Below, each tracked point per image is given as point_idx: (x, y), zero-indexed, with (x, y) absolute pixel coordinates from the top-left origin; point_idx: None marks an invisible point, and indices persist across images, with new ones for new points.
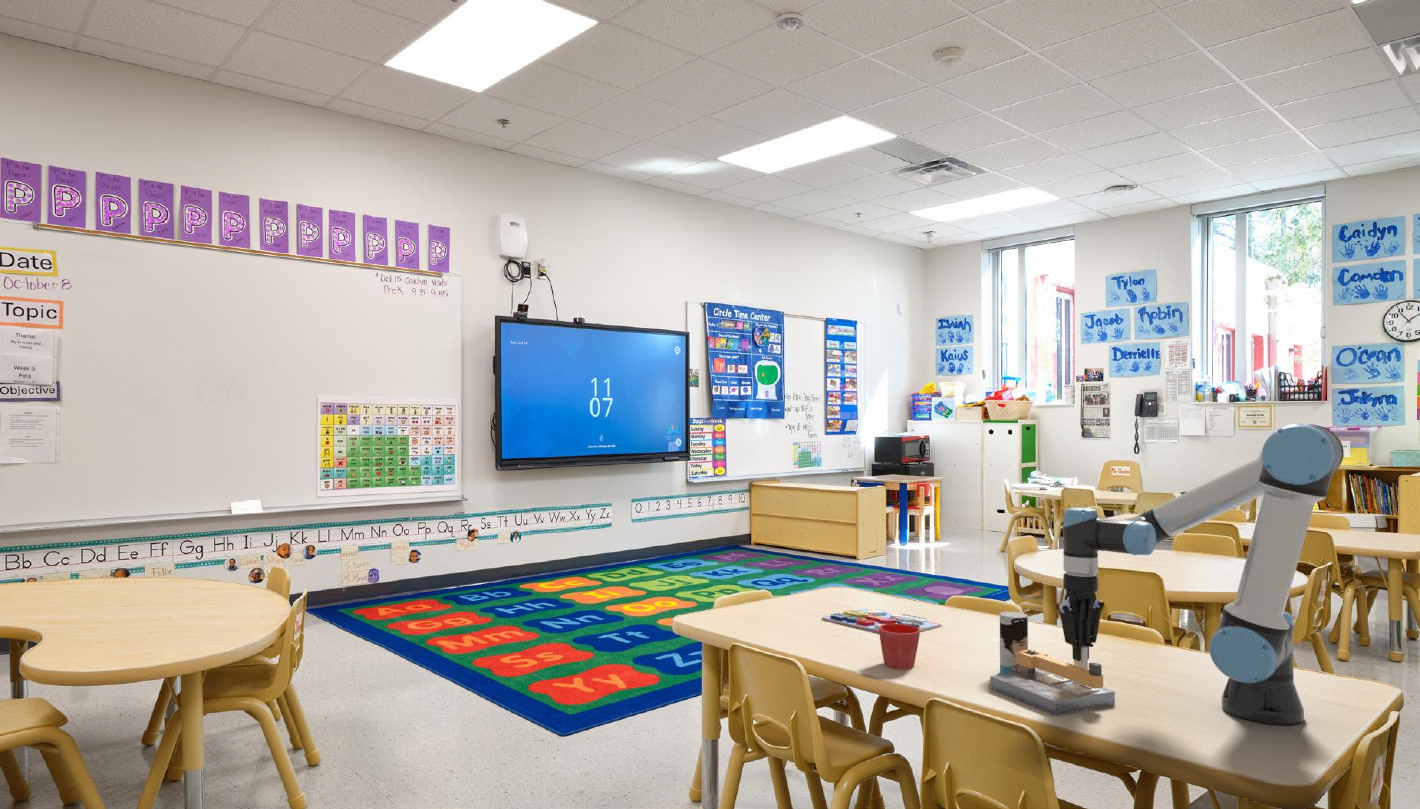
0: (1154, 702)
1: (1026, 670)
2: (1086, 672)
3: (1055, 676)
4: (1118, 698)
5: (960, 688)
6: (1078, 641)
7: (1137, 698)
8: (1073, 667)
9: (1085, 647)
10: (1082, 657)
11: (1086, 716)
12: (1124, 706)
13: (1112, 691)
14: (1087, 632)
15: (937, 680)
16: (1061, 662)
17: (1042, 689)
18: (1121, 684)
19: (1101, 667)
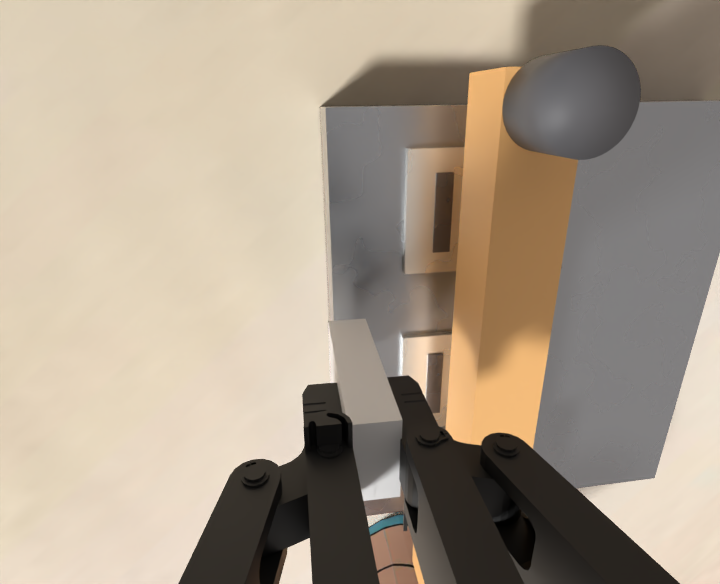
0: (60, 37)
1: (389, 541)
2: (557, 167)
3: (439, 395)
4: (221, 176)
5: (698, 467)
6: (462, 461)
7: (113, 136)
8: (528, 291)
9: (373, 421)
10: (385, 378)
11: (602, 22)
12: (295, 59)
13: (343, 107)
14: (364, 537)
15: (685, 543)
16: (499, 396)
17: (640, 274)
18: (29, 343)
19: (557, 58)
